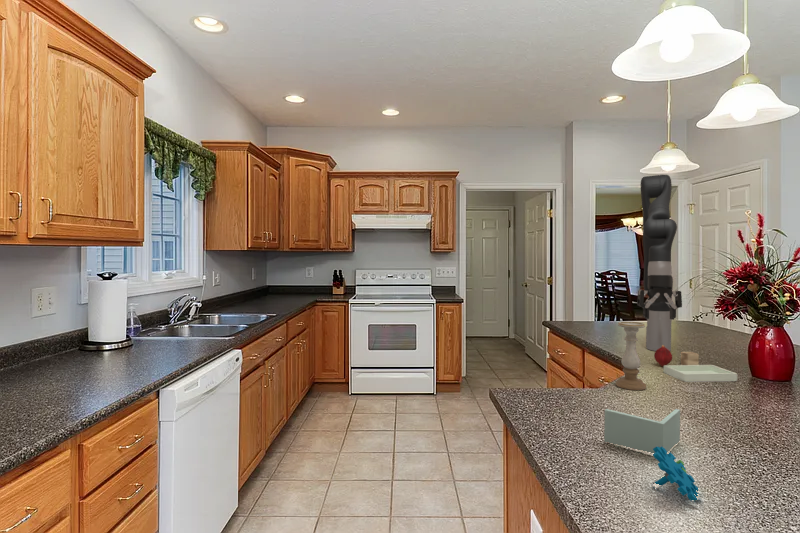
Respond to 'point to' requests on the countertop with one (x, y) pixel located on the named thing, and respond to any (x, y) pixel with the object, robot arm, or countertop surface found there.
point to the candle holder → (631, 358)
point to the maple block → (689, 358)
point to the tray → (699, 373)
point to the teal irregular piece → (675, 473)
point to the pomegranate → (663, 356)
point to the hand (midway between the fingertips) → (659, 319)
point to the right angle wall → (642, 430)
